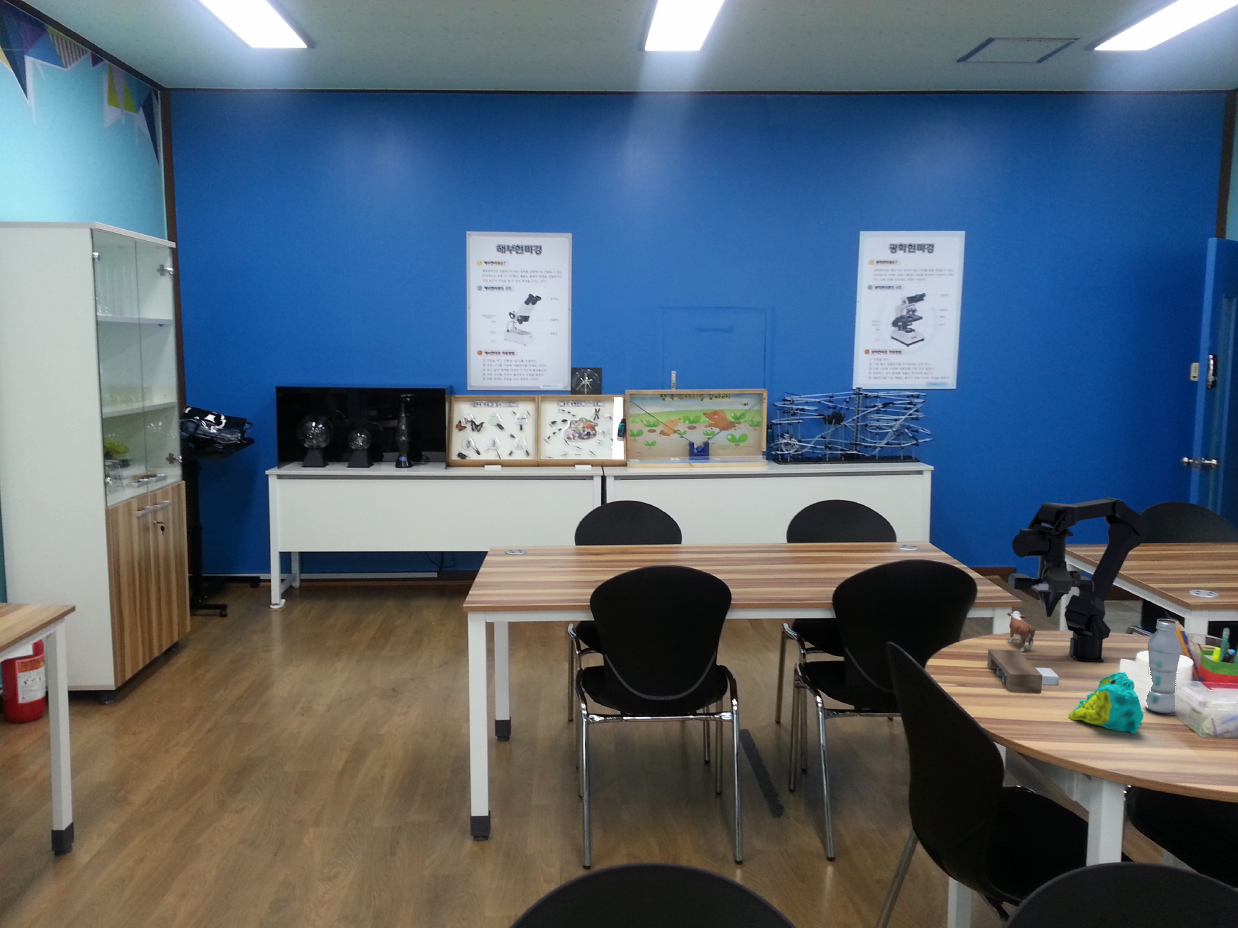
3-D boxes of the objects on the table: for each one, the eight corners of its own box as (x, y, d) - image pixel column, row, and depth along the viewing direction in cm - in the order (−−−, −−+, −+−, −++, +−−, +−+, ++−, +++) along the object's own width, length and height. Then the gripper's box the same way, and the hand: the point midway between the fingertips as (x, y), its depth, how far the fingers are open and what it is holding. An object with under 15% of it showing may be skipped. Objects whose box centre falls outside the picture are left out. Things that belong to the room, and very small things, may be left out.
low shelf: (1016, 667, 233) (1017, 650, 233) (1041, 692, 215) (1042, 675, 215) (987, 665, 234) (988, 649, 233) (1009, 691, 216) (1010, 673, 216)
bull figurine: (1019, 638, 257) (1021, 609, 256) (1036, 654, 244) (1038, 623, 243) (1003, 637, 257) (1004, 608, 256) (1018, 653, 244) (1020, 622, 243)
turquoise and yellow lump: (1051, 688, 199) (1079, 650, 205) (1071, 733, 201) (1099, 694, 208) (1121, 697, 186) (1149, 656, 193) (1142, 745, 189) (1169, 703, 196)
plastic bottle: (1144, 714, 203) (1151, 623, 201) (1140, 703, 210) (1147, 615, 207) (1179, 718, 201) (1186, 627, 199) (1173, 707, 207) (1181, 618, 205)
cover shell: (1049, 676, 227) (1050, 668, 227) (1058, 684, 221) (1059, 676, 221) (1002, 674, 228) (1002, 666, 228) (1009, 682, 222) (1010, 674, 222)
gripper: (1023, 560, 226) (1019, 624, 228) (1105, 563, 224) (1100, 627, 226) (1009, 550, 237) (1005, 611, 239) (1087, 553, 235) (1082, 614, 237)
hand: (1048, 616), depth 235 cm, fingers closed
